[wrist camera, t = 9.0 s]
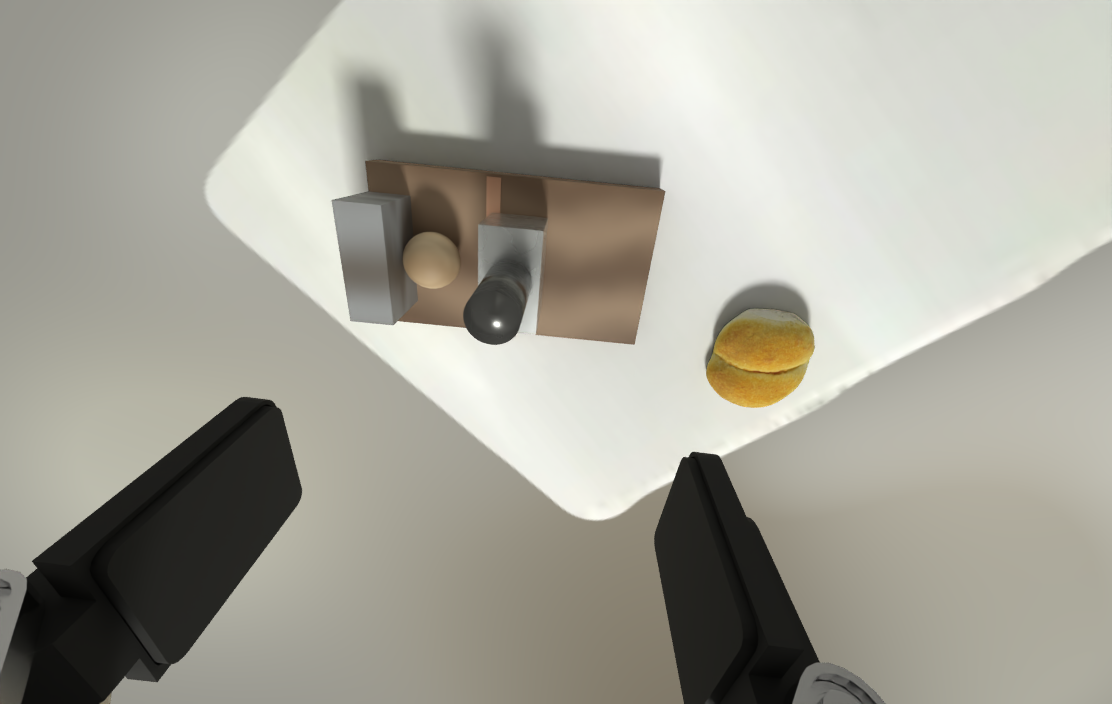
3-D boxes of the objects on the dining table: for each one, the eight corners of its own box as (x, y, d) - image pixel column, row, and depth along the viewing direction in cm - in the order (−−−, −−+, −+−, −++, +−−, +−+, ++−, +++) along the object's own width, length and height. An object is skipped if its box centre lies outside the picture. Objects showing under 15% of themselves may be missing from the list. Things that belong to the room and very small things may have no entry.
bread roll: (695, 391, 38) (707, 416, 35) (722, 302, 34) (739, 320, 31) (782, 399, 38) (803, 426, 35) (819, 311, 34) (847, 331, 31)
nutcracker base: (377, 159, 30) (325, 164, 24) (659, 188, 30) (682, 200, 24) (393, 310, 35) (354, 346, 29) (631, 334, 36) (643, 375, 29)
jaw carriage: (492, 212, 29) (451, 246, 19) (548, 218, 29) (535, 255, 19) (490, 304, 32) (455, 373, 22) (541, 309, 32) (526, 379, 23)
